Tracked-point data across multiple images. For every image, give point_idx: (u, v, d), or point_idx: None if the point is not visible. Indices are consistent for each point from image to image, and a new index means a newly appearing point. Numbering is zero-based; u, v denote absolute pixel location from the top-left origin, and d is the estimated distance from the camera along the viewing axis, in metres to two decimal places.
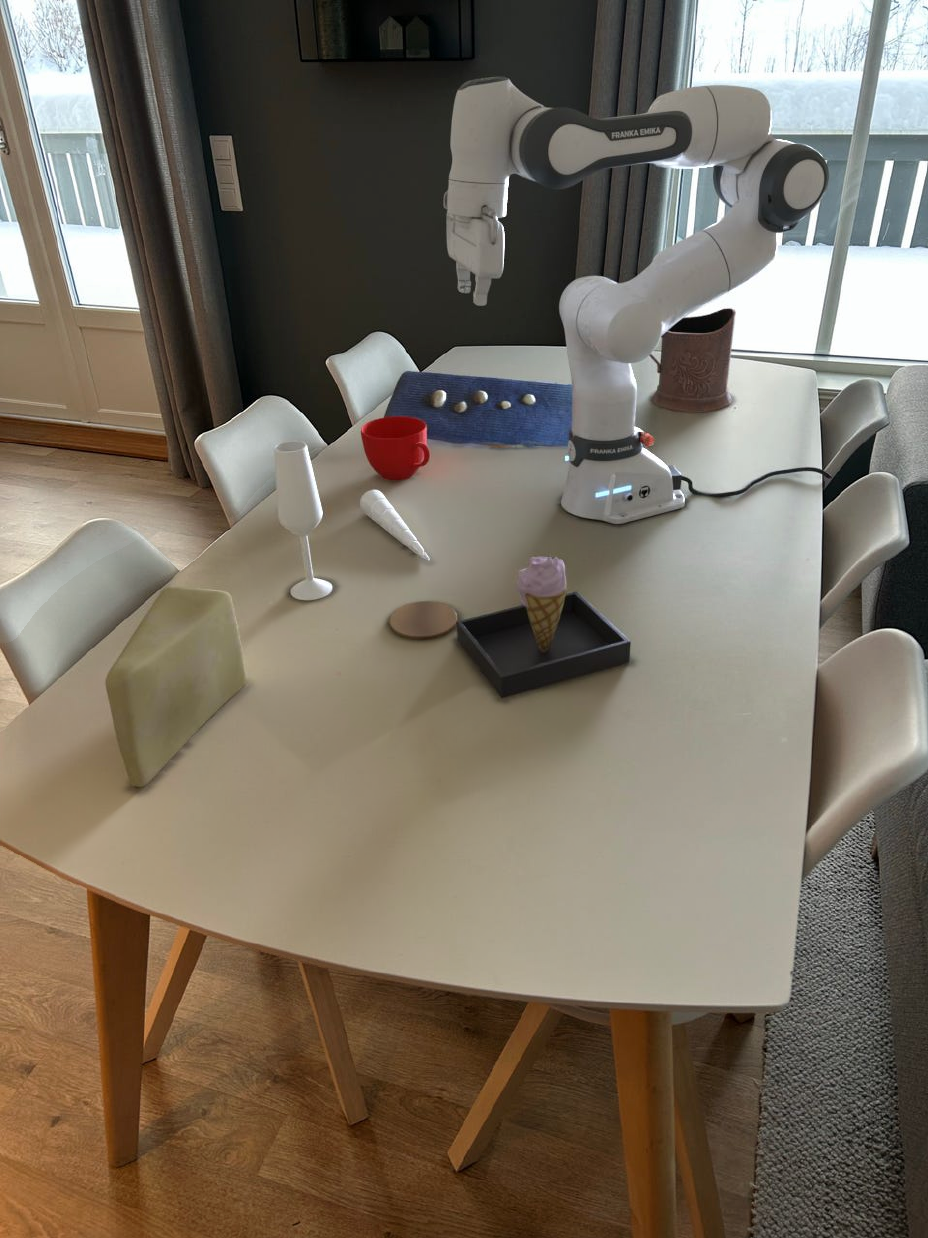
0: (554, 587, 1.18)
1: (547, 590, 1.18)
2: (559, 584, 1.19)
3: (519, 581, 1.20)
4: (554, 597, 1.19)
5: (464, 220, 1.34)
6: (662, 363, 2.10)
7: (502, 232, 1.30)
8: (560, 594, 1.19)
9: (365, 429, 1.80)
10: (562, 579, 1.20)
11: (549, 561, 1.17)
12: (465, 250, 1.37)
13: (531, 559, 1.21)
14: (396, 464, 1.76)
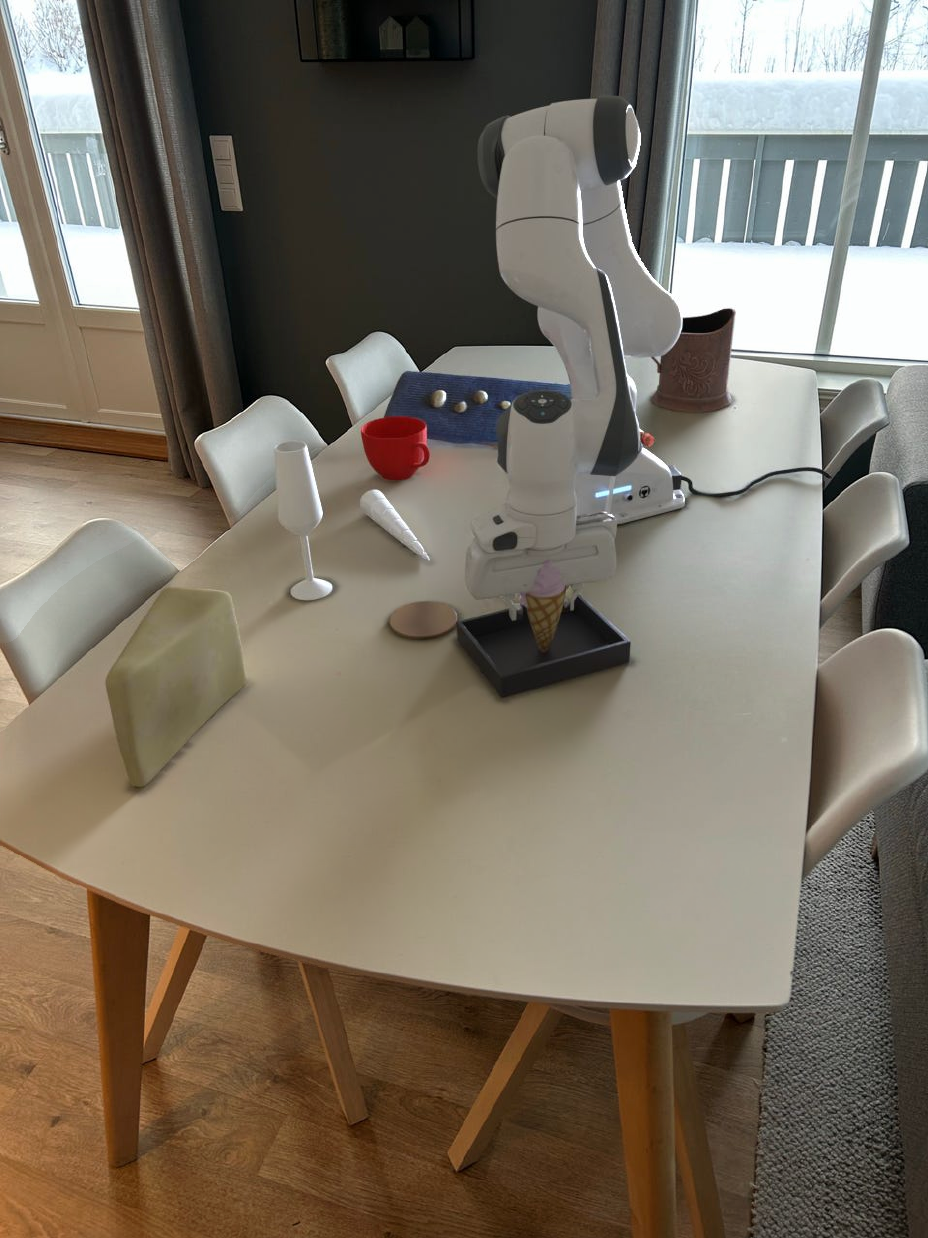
0: (554, 587, 1.18)
1: (547, 590, 1.18)
2: (559, 584, 1.19)
3: None
4: (554, 597, 1.19)
5: None
6: (662, 363, 2.10)
7: None
8: (560, 594, 1.19)
9: (365, 429, 1.80)
10: None
11: (549, 561, 1.17)
12: None
13: None
14: (396, 464, 1.76)
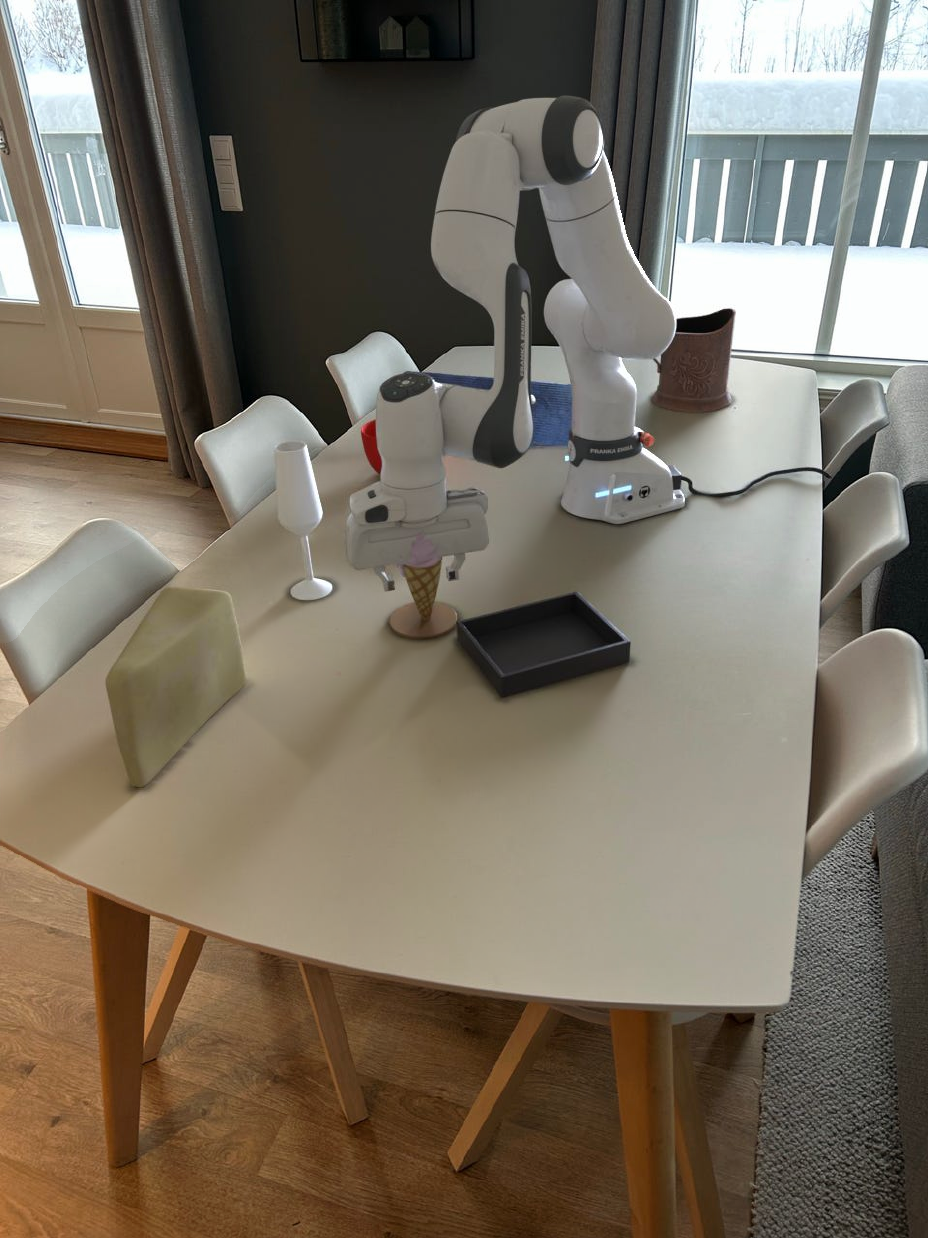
0: (427, 558, 1.26)
1: (421, 561, 1.26)
2: (432, 556, 1.27)
3: None
4: (428, 568, 1.27)
5: (433, 516, 1.24)
6: (662, 363, 2.10)
7: None
8: (434, 565, 1.27)
9: (365, 429, 1.80)
10: None
11: (422, 534, 1.25)
12: None
13: None
14: None
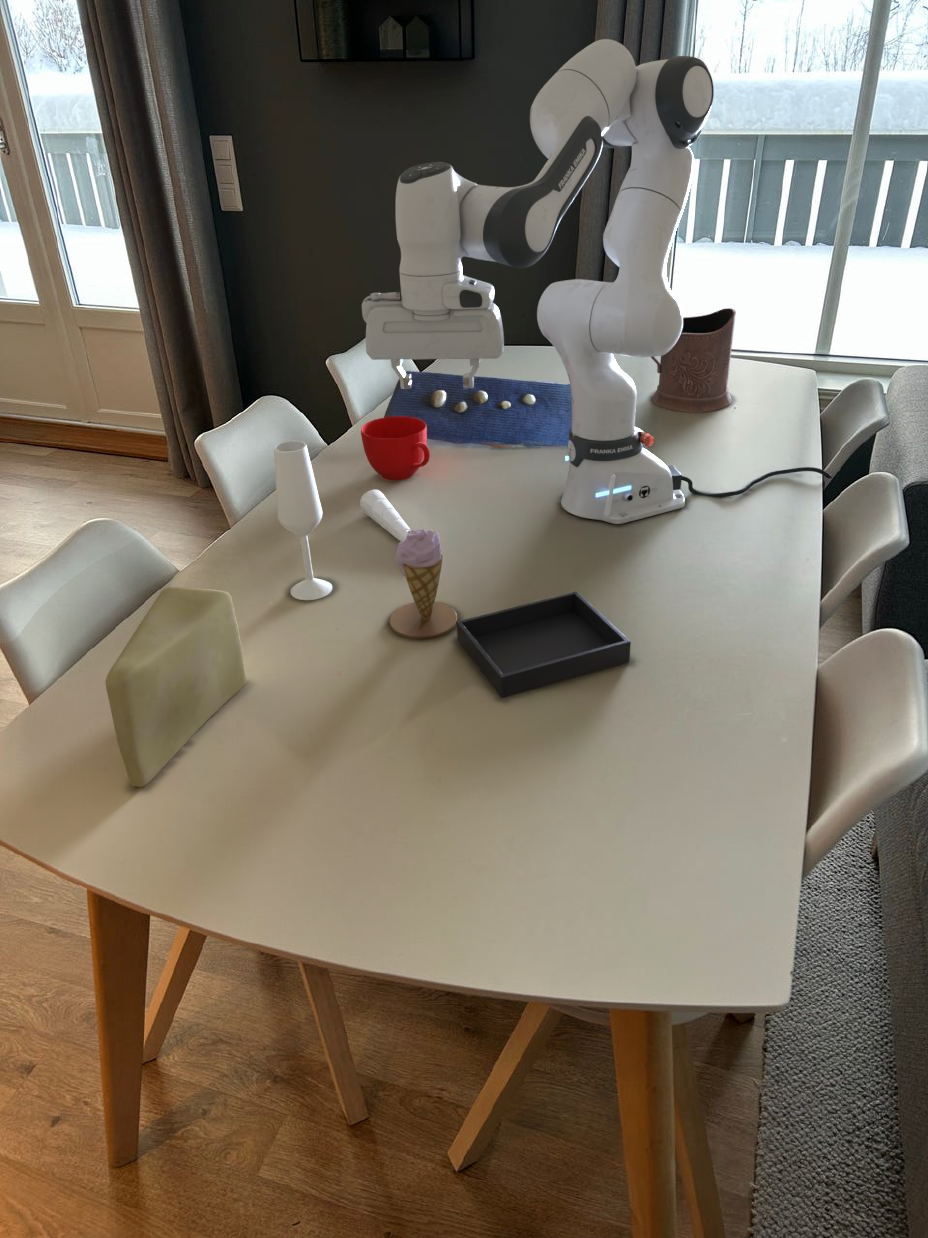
0: (428, 557, 1.26)
1: (421, 560, 1.26)
2: (433, 555, 1.27)
3: (397, 552, 1.29)
4: (429, 567, 1.27)
5: None
6: (662, 363, 2.10)
7: (368, 316, 1.30)
8: (435, 564, 1.27)
9: (365, 429, 1.80)
10: (437, 550, 1.28)
11: (422, 533, 1.25)
12: None
13: (409, 532, 1.29)
14: (396, 464, 1.76)
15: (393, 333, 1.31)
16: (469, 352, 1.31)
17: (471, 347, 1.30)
